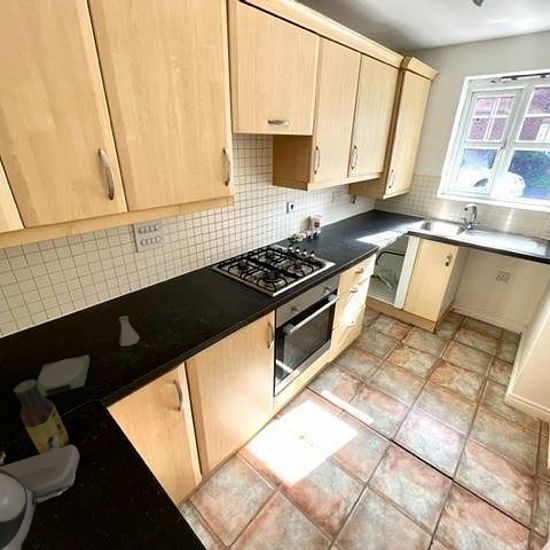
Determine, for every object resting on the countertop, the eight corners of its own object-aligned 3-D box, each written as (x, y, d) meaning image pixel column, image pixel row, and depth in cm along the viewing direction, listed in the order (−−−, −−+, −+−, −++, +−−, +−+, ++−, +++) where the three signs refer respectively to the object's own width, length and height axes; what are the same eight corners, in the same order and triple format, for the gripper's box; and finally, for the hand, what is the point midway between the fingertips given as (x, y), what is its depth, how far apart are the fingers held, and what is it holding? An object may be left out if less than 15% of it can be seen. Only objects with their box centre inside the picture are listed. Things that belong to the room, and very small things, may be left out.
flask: (140, 333, 118) (134, 311, 114) (139, 343, 112) (133, 321, 108) (120, 337, 116) (113, 315, 112) (118, 348, 110) (111, 325, 106)
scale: (33, 400, 89) (30, 392, 87) (46, 370, 100) (42, 363, 99) (83, 386, 93) (81, 379, 92) (90, 360, 104) (87, 353, 103)
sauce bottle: (73, 445, 75) (46, 385, 67) (44, 464, 71) (11, 402, 63) (65, 430, 79) (38, 372, 71) (36, 447, 75) (5, 387, 67)
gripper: (66, 479, 54) (80, 419, 66) (-85, 532, 47) (-40, 454, 59) (77, 500, 57) (88, 438, 68) (-65, 553, 50) (-26, 474, 61)
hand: (28, 446), depth 63 cm, fingers open, 8 cm apart
